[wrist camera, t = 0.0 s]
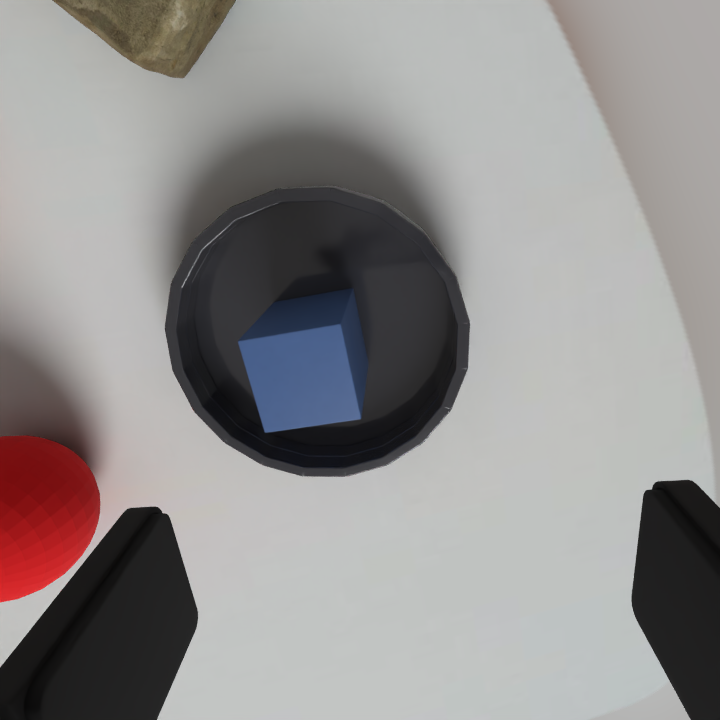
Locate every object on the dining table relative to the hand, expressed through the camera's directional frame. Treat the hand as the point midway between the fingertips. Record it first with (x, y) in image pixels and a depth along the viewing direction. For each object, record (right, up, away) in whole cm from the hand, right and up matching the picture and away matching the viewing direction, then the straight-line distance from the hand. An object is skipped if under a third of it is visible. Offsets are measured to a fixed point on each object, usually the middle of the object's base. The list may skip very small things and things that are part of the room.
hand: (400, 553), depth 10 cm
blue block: (-3, +5, +17) cm, 18 cm away
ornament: (-20, -3, +22) cm, 30 cm away
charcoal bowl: (-3, +5, +18) cm, 19 cm away
